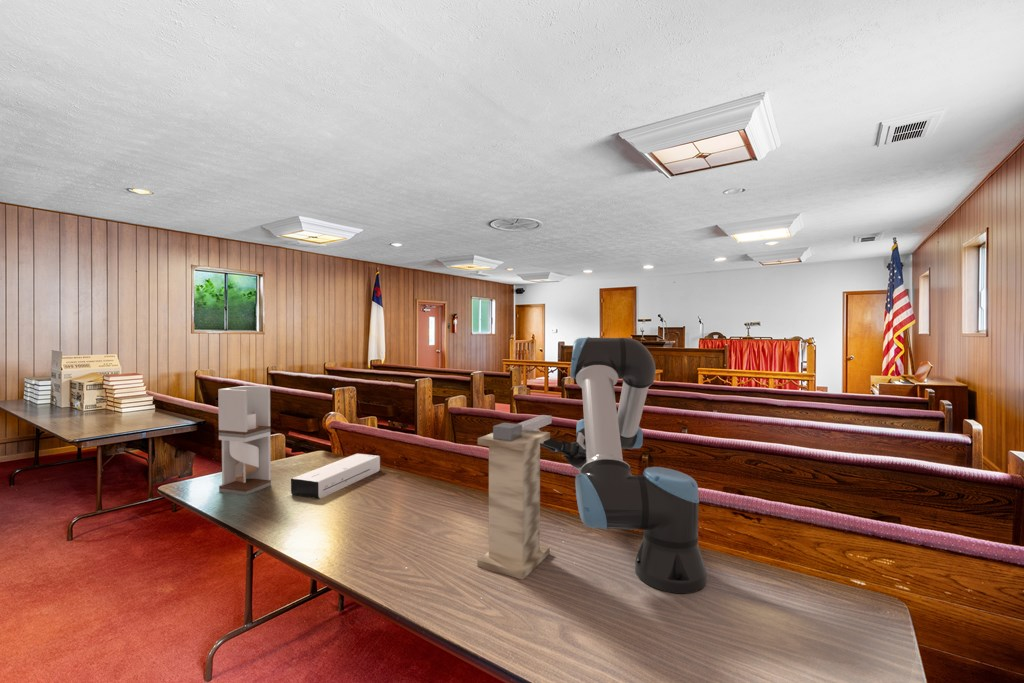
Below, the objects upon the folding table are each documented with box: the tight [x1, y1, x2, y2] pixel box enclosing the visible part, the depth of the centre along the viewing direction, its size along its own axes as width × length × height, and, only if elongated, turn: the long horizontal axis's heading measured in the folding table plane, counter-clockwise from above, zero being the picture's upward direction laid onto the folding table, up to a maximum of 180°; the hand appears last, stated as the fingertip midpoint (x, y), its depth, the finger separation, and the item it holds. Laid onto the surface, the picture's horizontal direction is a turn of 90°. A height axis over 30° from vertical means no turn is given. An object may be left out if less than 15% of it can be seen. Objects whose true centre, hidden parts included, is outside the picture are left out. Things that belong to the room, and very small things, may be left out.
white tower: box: [217, 385, 272, 496], centre depth 162 cm, size 11×11×35 cm
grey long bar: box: [492, 414, 553, 442], centre depth 116 cm, size 24×5×3 cm, turn 151°
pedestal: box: [477, 430, 551, 580], centre depth 111 cm, size 14×12×30 cm
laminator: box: [290, 453, 381, 500], centre depth 170 cm, size 34×12×6 cm, turn 161°
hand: (556, 434), depth 132 cm, fingers open, 13 cm apart
